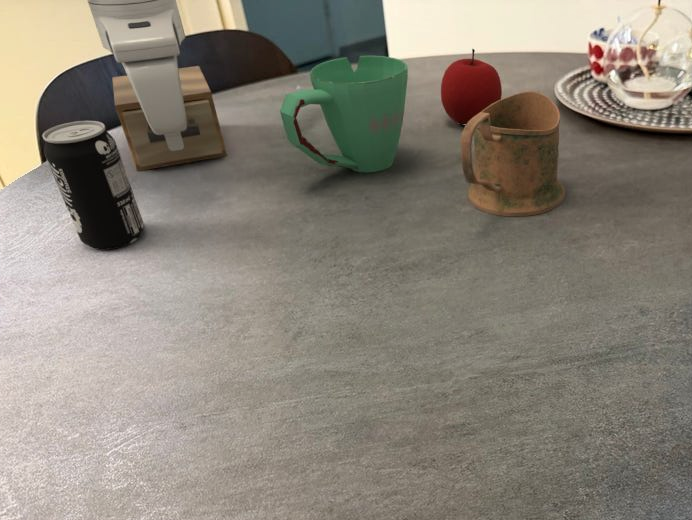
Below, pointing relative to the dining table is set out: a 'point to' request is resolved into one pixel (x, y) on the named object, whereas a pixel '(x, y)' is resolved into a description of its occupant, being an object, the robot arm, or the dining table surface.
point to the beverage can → (93, 184)
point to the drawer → (195, 138)
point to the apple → (469, 88)
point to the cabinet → (191, 90)
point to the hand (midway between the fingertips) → (176, 147)
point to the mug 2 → (514, 156)
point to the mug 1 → (354, 111)
